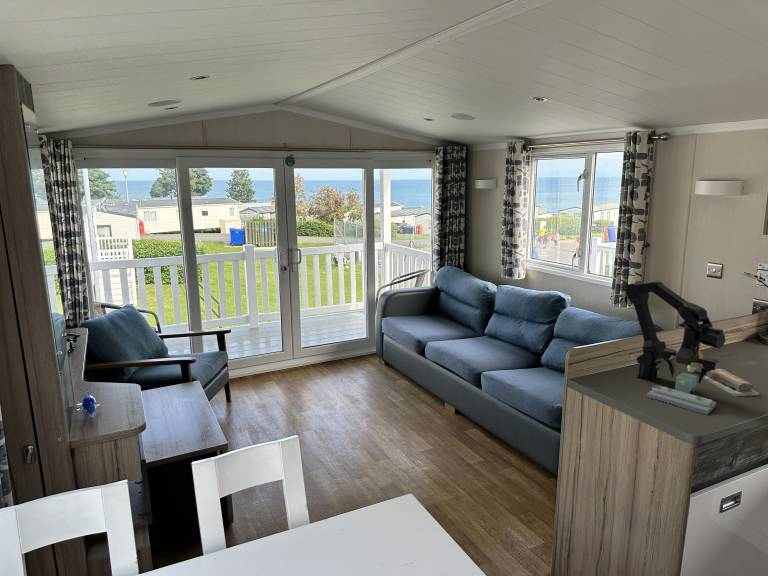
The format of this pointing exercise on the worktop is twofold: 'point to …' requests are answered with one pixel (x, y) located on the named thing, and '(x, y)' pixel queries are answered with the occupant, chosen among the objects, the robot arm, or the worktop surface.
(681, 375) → the block
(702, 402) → the din rail
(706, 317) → the robot arm
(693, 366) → the light bulb
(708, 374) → the packaged product
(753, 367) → the worktop surface
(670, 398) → the plate
